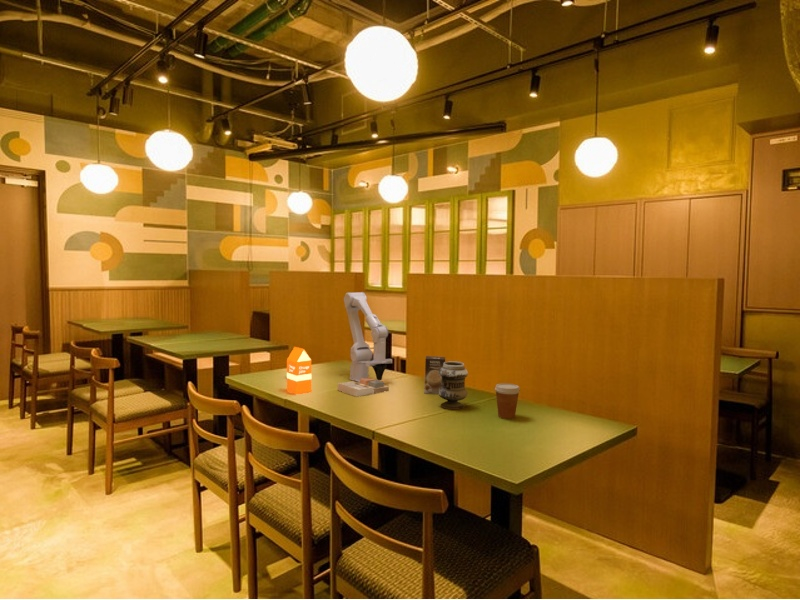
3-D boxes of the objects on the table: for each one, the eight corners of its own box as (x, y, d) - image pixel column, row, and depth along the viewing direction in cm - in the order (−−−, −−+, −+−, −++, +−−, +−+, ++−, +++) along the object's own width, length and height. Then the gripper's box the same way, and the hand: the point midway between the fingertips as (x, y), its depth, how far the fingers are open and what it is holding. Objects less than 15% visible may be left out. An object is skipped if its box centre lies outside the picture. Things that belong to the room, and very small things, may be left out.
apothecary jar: (455, 412, 203) (456, 367, 202) (431, 406, 211) (432, 362, 210) (473, 406, 212) (474, 363, 211) (449, 400, 220) (450, 359, 219)
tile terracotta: (359, 383, 241) (360, 378, 241) (368, 381, 245) (368, 377, 244) (366, 385, 238) (366, 380, 237) (374, 383, 241) (374, 379, 241)
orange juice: (296, 394, 226) (296, 349, 225) (286, 391, 233) (286, 347, 231) (311, 392, 231) (311, 348, 230) (301, 388, 238) (301, 345, 236)
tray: (337, 390, 235) (337, 382, 235) (354, 387, 241) (355, 379, 241) (356, 397, 224) (356, 389, 224) (374, 393, 230) (374, 386, 230)
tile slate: (368, 385, 236) (368, 381, 236) (377, 384, 239) (377, 380, 239) (375, 388, 232) (375, 383, 232) (384, 386, 235) (384, 382, 235)
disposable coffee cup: (489, 414, 200) (490, 384, 200) (509, 412, 204) (510, 382, 203) (503, 421, 192) (504, 389, 191) (524, 418, 196) (525, 387, 195)
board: (355, 387, 242) (355, 382, 242) (369, 384, 247) (369, 380, 247) (374, 393, 230) (374, 389, 230) (388, 390, 235) (388, 386, 235)
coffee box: (423, 393, 231) (424, 358, 230) (424, 390, 238) (425, 355, 237) (444, 394, 230) (445, 359, 229) (444, 391, 237) (445, 356, 236)
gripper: (372, 354, 237) (372, 383, 238) (396, 351, 246) (396, 379, 247) (363, 352, 242) (363, 380, 243) (387, 349, 252) (386, 376, 253)
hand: (379, 379), depth 246 cm, fingers closed
